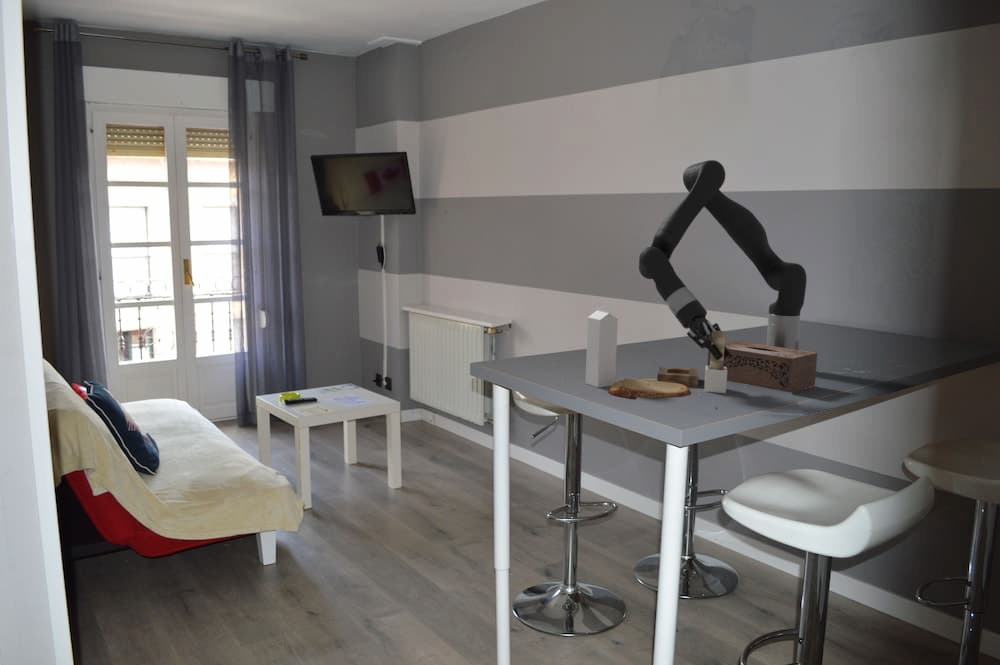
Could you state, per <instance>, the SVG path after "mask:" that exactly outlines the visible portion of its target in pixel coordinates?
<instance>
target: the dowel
mask: <svg viewBox="0 0 1000 665" xmlns="http://www.w3.org/2000/svg"><path fill="white" fill-rule="evenodd" d="M711 338H712V340H713V342H714V345H716V346H717V347H718V348H719V350H720V351H721V352H722V354H723V357H722V358H721V359H719V360H716V359H715V357H714V356H713V355H712V354H711V355H710V369H713V370H723V364H724V347H725V343H726V331H723V330H721V331H712V337H711Z"/></svg>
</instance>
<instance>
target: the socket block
mask: <svg viewBox="0 0 1000 665" xmlns="http://www.w3.org/2000/svg"><path fill="white" fill-rule="evenodd" d="M656 381H660V382H668V383H669V382H670V383H677V384H682V385H685V386H687V387H688V388H689V387H690V388H691V387H692V388H698V387H699V369H698V368H690V367H689V368H686V367H674V366H673V367H672V366H671V367H669V366H659V367H658V370H657V380H656Z"/></svg>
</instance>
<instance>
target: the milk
mask: <svg viewBox="0 0 1000 665" xmlns="http://www.w3.org/2000/svg"><path fill="white" fill-rule="evenodd" d="M586 328H587V331H586V335H587V336H586V361H585V362H586V363H585V365H586V366H585V384H587V385H589V386H591V387H595V388H608V387H611V386H612V385H614V384H615V383H616V375H617V374H616V373H617V371H616V370H617V345H618V318H617V317H616V316H615V315H612V314H611V313H610V307H607V306H602V305H596V311H594V312H593V313H591V314H590V315H588V317H587V327H586Z"/></svg>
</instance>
